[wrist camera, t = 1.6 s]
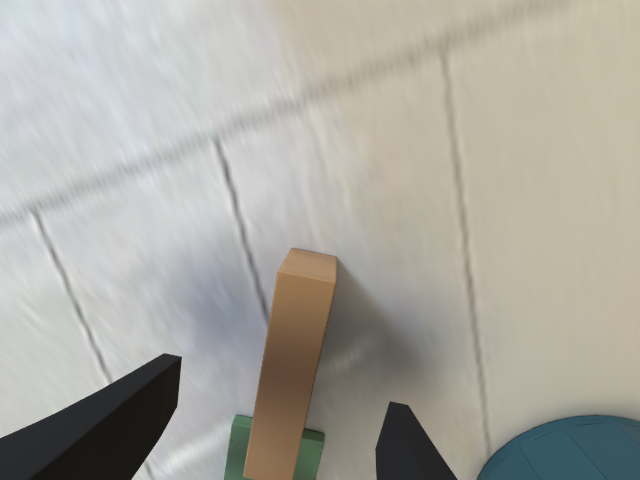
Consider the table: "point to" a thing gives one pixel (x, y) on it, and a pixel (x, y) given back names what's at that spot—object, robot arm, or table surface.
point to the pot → (571, 451)
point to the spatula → (287, 377)
